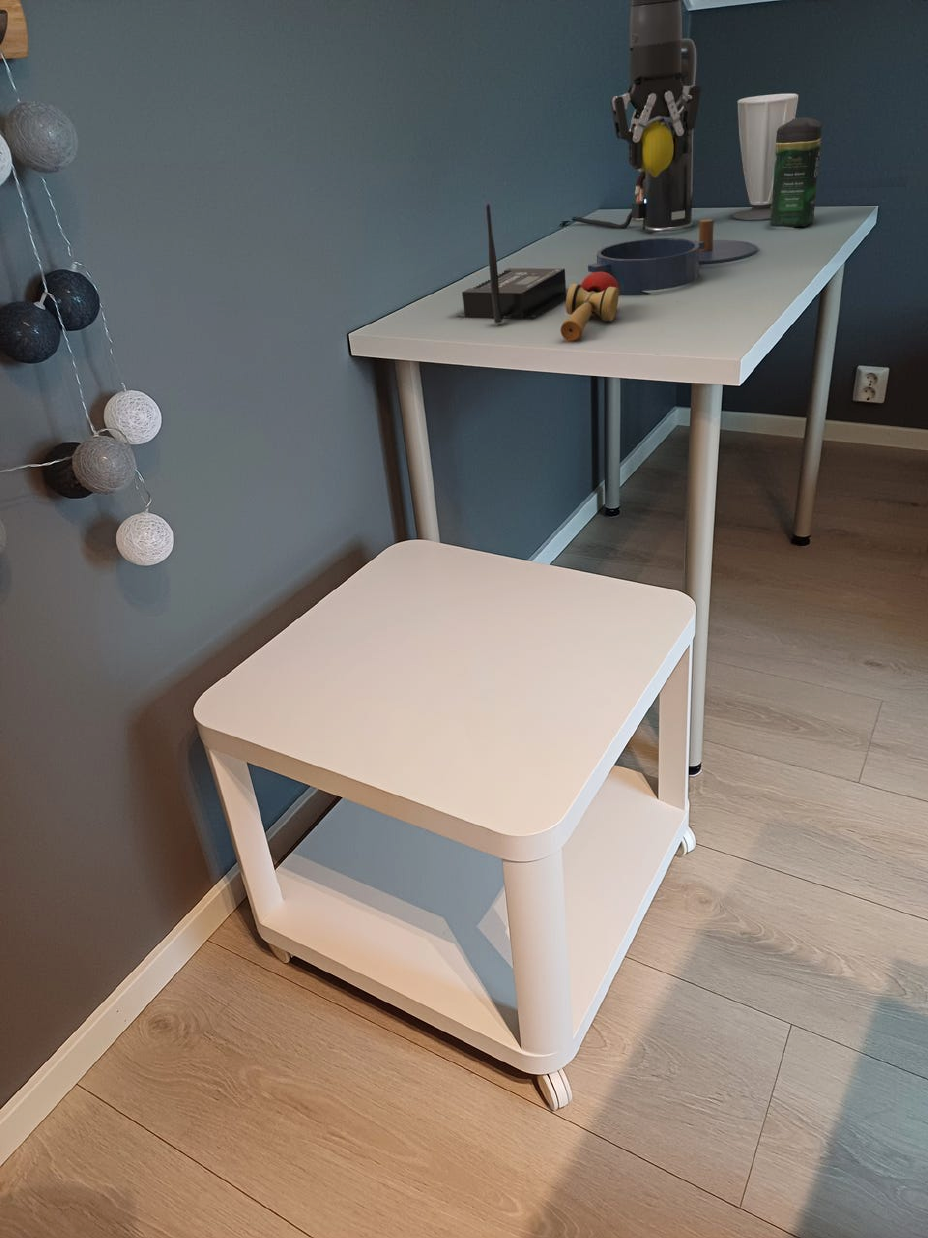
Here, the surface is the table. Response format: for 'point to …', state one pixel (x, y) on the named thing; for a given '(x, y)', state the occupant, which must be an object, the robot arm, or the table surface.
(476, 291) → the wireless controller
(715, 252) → the pan lid
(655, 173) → the lemon
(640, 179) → the grandmother figurine
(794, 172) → the coffee jar
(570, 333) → the kendama
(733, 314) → the table surface
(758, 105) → the cup
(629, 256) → the pan
